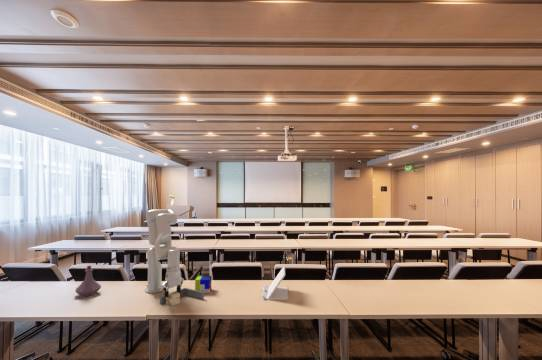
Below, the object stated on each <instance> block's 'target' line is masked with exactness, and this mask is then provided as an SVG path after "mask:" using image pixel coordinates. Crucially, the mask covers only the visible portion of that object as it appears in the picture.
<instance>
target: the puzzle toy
mask: <svg viewBox="0 0 542 360" xmlns="http://www.w3.org/2000/svg"><path fill="white" fill-rule="evenodd" d="M194 281H195V282H194V283H195V284H194V290H197V291H201V292H204V294H209V293H210V292H211V291H212V275H197V276H196V278H195V280H194Z"/></svg>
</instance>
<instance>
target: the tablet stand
mask: <svg viewBox="0 0 542 360" xmlns="http://www.w3.org/2000/svg"><path fill="white" fill-rule="evenodd" d="M285 276H286V266H285V265H283V266H282V268H281V269H280V271H279V272H278V274H277V275H276V276H275V278H274V279H273V281H272V283H271V284H270V285H269V286H268V285H267V284H264V285H263V288H262V294H261V297H262V298H263V299H264V300H267V301H289V290H288V289H289V287H287V286H279V285H280V284H281V282H282V281H283V279H284V278H285Z"/></svg>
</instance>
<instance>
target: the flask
mask: <svg viewBox="0 0 542 360" xmlns="http://www.w3.org/2000/svg"><path fill="white" fill-rule="evenodd" d="M93 271H94V269H93V268H92V265H87V266H86V269H85V270H84V272H85V277H84V280H82V282H81V283H80V284H79V285H78V286H77V287H76V289H75V293H76V294H78V295H79V296H80V297H83V298H84V297H85V298H86V297H91V296H94V295H96V294H97V293H98V292H99V291H100V289H101V288H102V285H101V284H100V283H98V282H97V281H96V280H95V279H94V276H93Z"/></svg>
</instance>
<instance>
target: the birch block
mask: <svg viewBox="0 0 542 360" xmlns="http://www.w3.org/2000/svg"><path fill="white" fill-rule="evenodd" d="M180 302H181V297H180V293H177V292H175V291H172V292H169V297H168V298H167V297H166V303H165V305H167V304H169V305H168V306H170V305H172V306H171V307H173V305H174V306H176V305H178V304H177V303H179V304H181V303H180ZM175 304H176V305H175Z"/></svg>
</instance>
